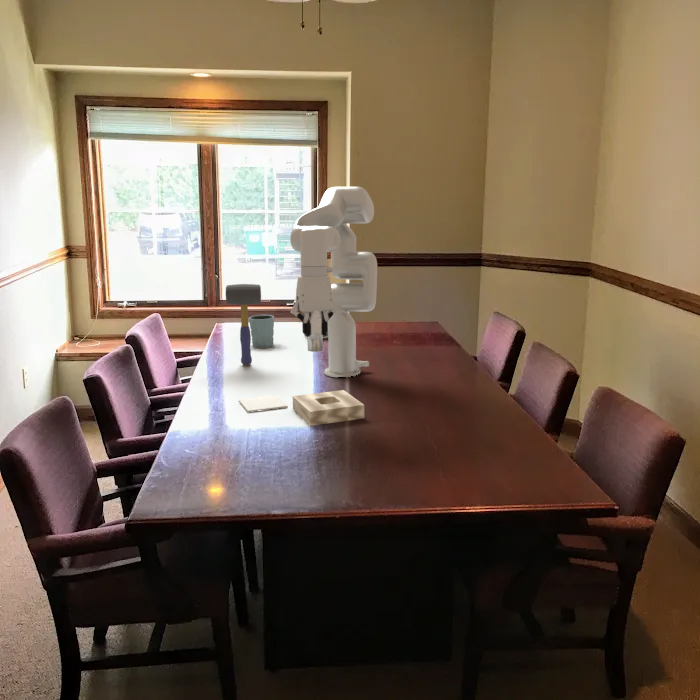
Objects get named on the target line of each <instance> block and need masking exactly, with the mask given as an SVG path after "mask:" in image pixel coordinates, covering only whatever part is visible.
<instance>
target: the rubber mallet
mask: <svg viewBox="0 0 700 700" xmlns="http://www.w3.org/2000/svg"><path fill="white" fill-rule="evenodd" d="M225 300H226V304H227V305H236V306H237V305H240V319H241V321H240V322H241V323H240V325H241V326H240V329H239V330H240V331H239V338H240V339H239V341H240V345H241V349H240V350H241V359H240V362H241V364H242V366H247V367H249V366H251V364H252V362H253V358H252V355H251V352H252V351H251V344H252V336H251V328H250V323H249V307H248V306H249V305H256V304H257V305H258V304H261V302H262V290H261V285H260V284H253V283H252V284H251V283H240V284H237V283H236V284H227V285H226V286H225Z"/></svg>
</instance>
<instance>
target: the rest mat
mask: <svg viewBox="0 0 700 700" xmlns="http://www.w3.org/2000/svg"><path fill="white" fill-rule="evenodd" d="M239 402H240V403H241V404H242V405H241V404H240V403H239ZM238 403H239V404H240V405H241V406H242V408H243V409H244V408H245V409H246V410H247V411H246V410H245V409H244V410H245V411H246V412H247V413H248V412H250V413H253V412H252V411H258V410H266V411H271V410H270V409H274V410H280V409H279V408H281V409H288V404H286V403H285V402H284V401H283V400H282V399H281V398H280V397H279V396H278V395H277V394H275V395H274V394H273V395H266V396H265V395H264V396H257V397H256V396H255V397H250V398H240V399H238ZM258 412H259V411H258Z"/></svg>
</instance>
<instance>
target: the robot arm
mask: <svg viewBox="0 0 700 700" xmlns="http://www.w3.org/2000/svg"><path fill="white" fill-rule="evenodd" d="M374 215H375V206H374V202H373V200H372V198H371V196H370V194H369V192H368V191H367V190H366V189H365V188H364V187H363V186H361V187H360V186H332V187H329V188H327V189H326V191H325V192H324V194H323V195H322V197H321V200H320V202H319V204H318V207H316V208H313V209H312V210H310V211H308V212H305V213H304V214H302V215H300V216H299V217H298V218H297V219H296V221H295V223H294V225H293V226H292V229H291V231H290V239H289V240H290V246H291V248H292V249H293V250H294V251H296V252H298V253H300V276H297V282H296V287H295V288H296V289H295V290H296V291H295V303H294V305H293V306H292V308H290V311H289V312H290V314H292V315H294V316H295V317H297V319H299V321H300V322H301V323H302V325H301V326H302V334H303V335H304V337H305V336H307V337H309V336H310V329H309V323H308V317H309V312H313V311H315V310H319V311H321V312H322V318H323V335H324V336H325V335H326V332H327V331H328V337H327V340H328V341H327V343H328V345H327V346H328V347H327V348H328V367H326V368H325V369H324V372H323V374H324V375H326V376H327V377H331V378H338V377H346V378H352V377H351V376H353V377H356V375H357V376H359V375H360V374H361V368H362V367H363V368H364V367H369V366H370V362H369V360H365V361H363V360H358V359H357V358H356V357H357V352H356V351H357V350H356V349H357V344H356V343H357V341H356V338H357V335H356V334H357V333H356V331H357V330H356V329H357V328H356V327H357V326H356V322H355V320H354V318H353V317H352V315H351V313H350V312H359V313H361V312H363V313H365V312H367V313H369V312H371V311H373V310H374V309H375V307H376V305H377V304H376V303H377V289H378V288H377V287H378V286H377V285H378V260H377V258H376V257H377V256H375V254H374V253H373V252H370V251H357V235H356V234H355V233H354V231H353V230H352V228H350V226H349V225H350V224H354V225H355V224H358V225H360V224H361V225H362V224H363V225H364V224H369V223H371V222H372V221H373V219H374V217H375V216H374ZM348 224H349V225H348ZM328 253H330V267H329V265H328ZM329 273H330V274H331V276H332V277H333V278H334V279H337V280H351V281H352V280H357V281H358V280H359V281H362V282H363V283H352V282H335V283H332V282H331V277H330V276H329ZM298 311H300V312H301V313H300V312H298ZM358 374H359V375H358Z"/></svg>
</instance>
